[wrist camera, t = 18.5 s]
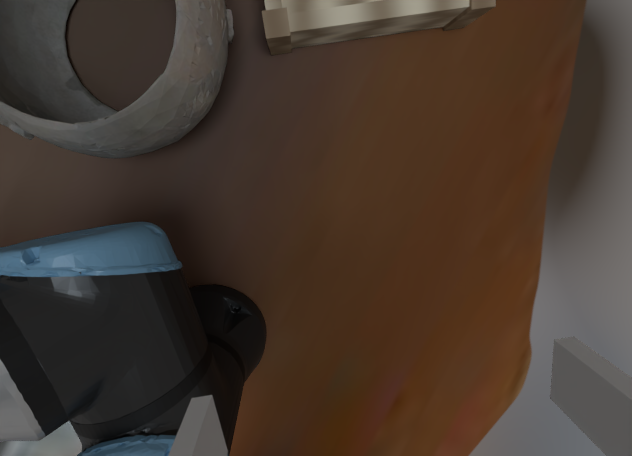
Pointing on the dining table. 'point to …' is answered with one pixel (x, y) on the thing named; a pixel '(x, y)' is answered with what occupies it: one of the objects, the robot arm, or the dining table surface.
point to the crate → (360, 19)
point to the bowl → (82, 107)
